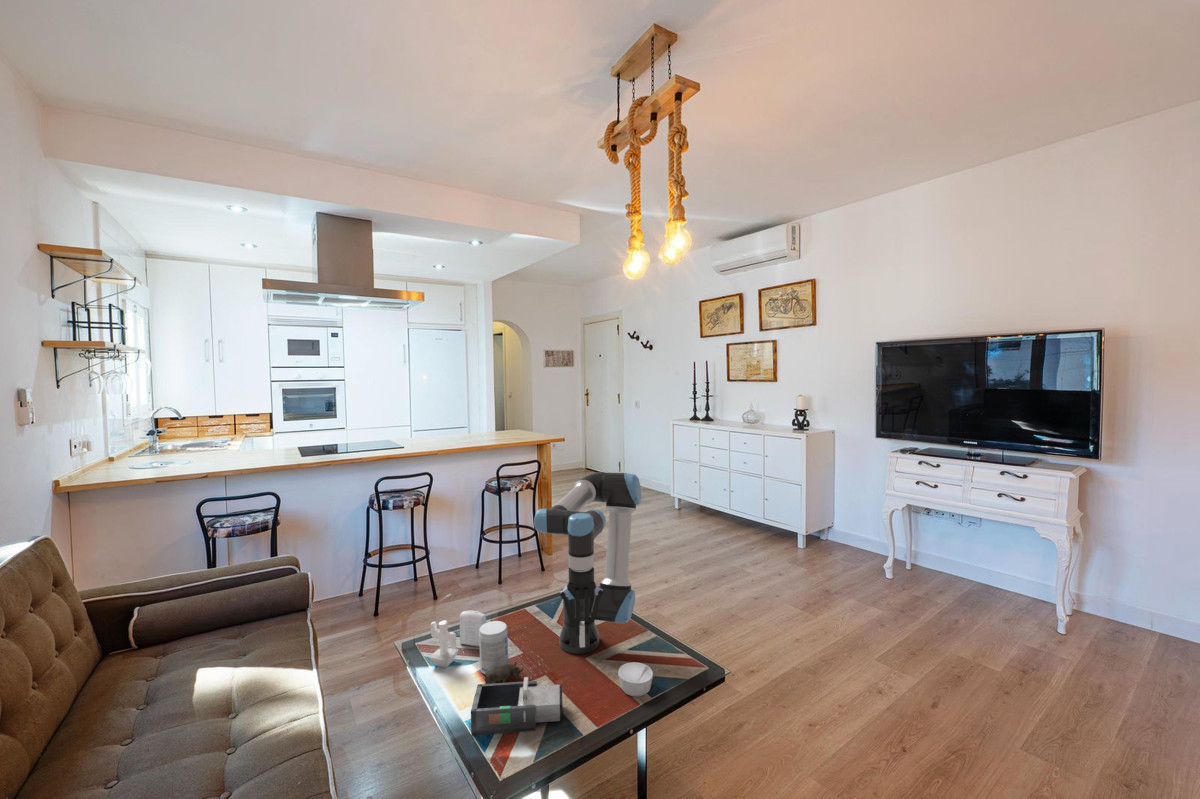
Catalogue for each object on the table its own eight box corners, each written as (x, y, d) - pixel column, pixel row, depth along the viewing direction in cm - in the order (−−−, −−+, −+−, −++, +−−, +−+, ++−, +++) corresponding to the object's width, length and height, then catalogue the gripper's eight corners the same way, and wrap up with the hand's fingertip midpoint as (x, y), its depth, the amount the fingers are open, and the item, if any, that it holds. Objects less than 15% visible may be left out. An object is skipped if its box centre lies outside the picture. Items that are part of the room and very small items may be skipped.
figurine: (450, 671, 168) (448, 629, 168) (426, 667, 171) (425, 625, 170) (461, 659, 175) (460, 618, 174) (439, 655, 178) (437, 615, 177)
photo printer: (488, 641, 187) (487, 610, 186) (482, 648, 182) (482, 615, 182) (464, 638, 189) (463, 607, 188) (458, 644, 185) (457, 612, 184)
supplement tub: (512, 670, 168) (511, 629, 167) (486, 680, 163) (485, 638, 162) (501, 657, 176) (500, 617, 176) (476, 666, 171) (475, 625, 170)
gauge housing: (537, 702, 152) (536, 680, 152) (535, 731, 140) (534, 707, 140) (478, 706, 151) (477, 683, 150) (471, 736, 138) (470, 711, 138)
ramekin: (657, 697, 154) (657, 680, 154) (622, 701, 152) (622, 685, 152) (647, 675, 165) (647, 660, 165) (615, 679, 163) (615, 663, 163)
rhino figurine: (526, 680, 164) (525, 662, 163) (485, 692, 157) (484, 674, 157) (522, 673, 167) (521, 656, 167) (481, 685, 161) (481, 667, 161)
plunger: (562, 699, 151) (561, 671, 151) (562, 720, 142) (562, 690, 142) (520, 702, 150) (519, 674, 150) (518, 723, 141) (517, 693, 141)
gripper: (602, 561, 149) (602, 636, 150) (559, 563, 148) (560, 639, 149) (604, 571, 142) (605, 650, 143) (559, 573, 140) (560, 653, 142)
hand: (582, 644), depth 146 cm, fingers closed
